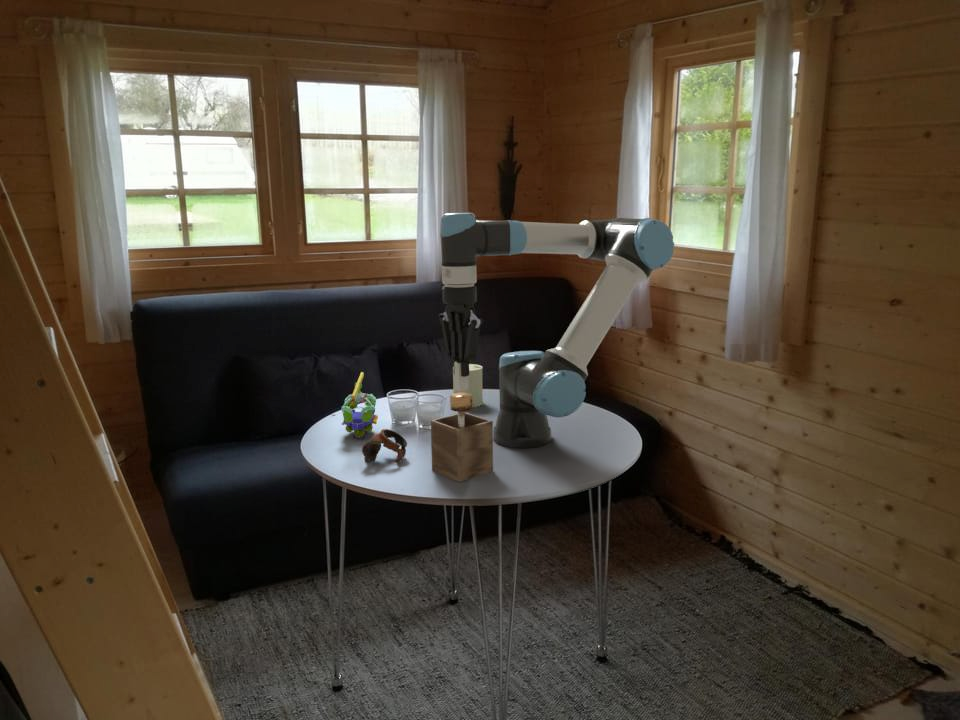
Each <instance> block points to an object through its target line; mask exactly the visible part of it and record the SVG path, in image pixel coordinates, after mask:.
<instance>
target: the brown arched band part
mask: <svg viewBox="0 0 960 720" xmlns="http://www.w3.org/2000/svg"><path fill="white" fill-rule="evenodd" d="M392 438H393V439H394V441H395V442H394V441H393V440H391V439H392ZM407 446H408V442H407V440H406V439H405V438H404V437H403V436H402V434H399V432H396V431H394V430H391V429H388V428H387V429H386V428H382V429H381V431H380V432H378V433H376V434H373V436H372V437H371V438H370V439H369V441H367V442H366V443H364V445H363V446H362V449H361V452H362V455H363V456H364V461H365V462H366V463H368V462H372V463H373V462H374V463H375V462H376V459H377V455H378V454H379V452H380V451H381V448H382V447H384V448H386V449H388V450H392V452H394V453H397V456H396V459H395V462H396V463H401V462H402V460H403V459H404V458H405V456H406V454H407V452H406V451H407V449H406V448H407Z"/></svg>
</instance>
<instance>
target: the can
mask: <svg viewBox="0 0 960 720" xmlns="http://www.w3.org/2000/svg"><path fill="white" fill-rule="evenodd" d="M453 368H454V367H452V380H453V381H452V383H453V384H452V385H453V387H452V388H453V389H452V390H453V393H452V394H454V393H469V394H471V395H472V407H475V408H478V407H477V406H479V407H481V406H483V405H484V402H483V401H484V400H483V395H484V394H483V366H482V365H480V364H476V363H474V364H473V363H469V376H468V389H467V390H462V391H457V390H455V374H454V369H453ZM482 404H483V405H482ZM480 405H481V406H480Z"/></svg>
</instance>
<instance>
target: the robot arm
mask: <svg viewBox="0 0 960 720" xmlns="http://www.w3.org/2000/svg"><path fill="white" fill-rule="evenodd" d="M439 237H440V248H441V250H440V251H441V252H440V253H441V276H442V278H441V280H442V282H441V283H442V284H443V286H442V287H441V289H442V302H443V303H444V304H446V306H445V308H444V310H445V311H444V312H443V313H439V314H438V320H439V323H440V325H441V330H442V336H443V342H444V350H445V355H446V357H448V358H451V361H452V363H453V367H454V368H453V367H452V370H453V369H454V374H455V390H457V391H462V390H467V389H468V376H469V364H470V362H471V361H474V360H476V359H477V352H478V346H479V345H478V344H479V339H480V333H481V328H482V326H483V325H484V319H483V318H478V317H477V315H476V310H475V308H474V305H475V303H477V299H478V298H477V297H478V293H477V292H478V291H477V290H478V289H477V286H476V285H475V284H476V283H477V282H478V281H477V280H478V279H477V274H478V273H477V257H483V256H484V257H485V256H486V257H490V256H491V257H492V256H512V255H520V254H549V255H550V254H551V255H577V256H578V257H579V258H581V259H590V260H595V261H596V260H597V261H602V262H605V264H606V266H605V268H604V269H603V270H602V271H603V272H602V273H601V274H600V276H599V278H598V280H597V281H596V282H595V284H594V286H593V287H592V289H591V291H590V292H589V294H588V295H587V297H586V299H585V300H584V301H583V303H582V305H581V306H580V307H579V310H578V311H577V313H576V315H575V316H574V317H573V319H572V321H571V322H570V323H569V326H568V327H567V329H566V331H565V332H564V333H563V335H562V337H561V338H560V340H559V342H558V343H557V345H556V347H554V348H550V349H547V350H545V352H544V351H541V350H519V351H513V352H506V353H504V354H502V355H501V356H500V357H499V363H498V370H499V372H498V373H499V375H498V377H499V383H498V384H499V412H498V414H497V419H496V423H495V426H494V427H493V441H494V442H495V443H497V444H499V445H501V446H506V447H510V448H524V449H525V448H535V447H541V446H544V445H546V444H548V443H550V441H551V440H552V429H551V427H550V425H549V420H548V416H549V417H553V418H564V417H568V416H570V415H572V414H574V413H575V412H576V411H577V410H578V409H579V408H580V407H581V406H582V404H583V402H584V400H585V398H586V394H587V391H586V389H587V388H586V383H585V381H586V380H587V377H588V376H589V373H588V369H587V366H588V365H589V362H590V361H591V359H592V358H593V356H594V354H595V353H596V351H597V349H598V348H599V346H600V344H601V343H602V342H603V340H604V338H605V337H606V335H607V334H608V332H609V331H610V329H611V327H612V325H613V324H614V322H615V321H616V319H617V318H618V316H619V314H620V312H621V311H622V310H623V307H624V306H625V304H626V302H627V301H628V300H629V298H630V296H631V294H632V293H633V291H634V290H635V288H636V287H637V285H638V284H642V283H646V281H648V279H649V277H650V276H651V275H652V272H653V271H654V270H660V269H661V268H664V267H666V266H667V265H668V264H669V263H670V261H671V259H672V258H673V255H674V250H675V242H674V236H673V232H672V231H671V229H670V227H669V226H668V225H667V224H666V223H665V222H664V221H661V220H659V219H653V218H649V217H645V218H644V217H643V218H627V217H619V218H618V217H616V218H607V219H601V220H600V219H599V220H582V221H581V222H579V223H560V222H559V223H557V222H537V221H535V222H533V221H532V222H531V221H520V220H510V219H507V220H489V219H488V220H487V219H486V220H485V219H476V214H474V213H473V212H447V213H444V214H443V215H442V216H441V217H440V234H439Z"/></svg>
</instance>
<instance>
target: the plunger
mask: <svg viewBox="0 0 960 720" xmlns="http://www.w3.org/2000/svg"><path fill="white" fill-rule="evenodd" d="M449 408H450V410H451V411H453V412H457V414H458V429H462V428H465V412H469V411H471V410H473V408H472V395H471V394H469V393H452V394H450V395H449Z"/></svg>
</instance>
